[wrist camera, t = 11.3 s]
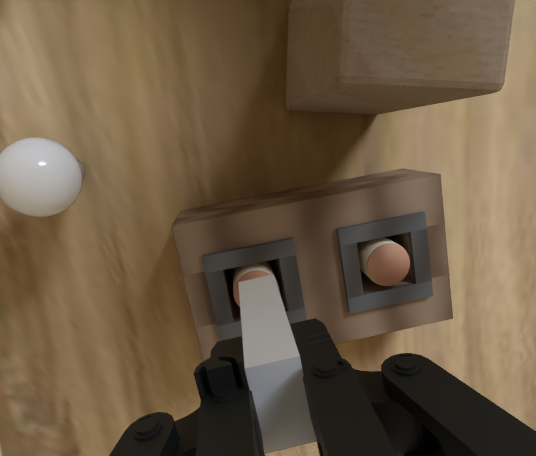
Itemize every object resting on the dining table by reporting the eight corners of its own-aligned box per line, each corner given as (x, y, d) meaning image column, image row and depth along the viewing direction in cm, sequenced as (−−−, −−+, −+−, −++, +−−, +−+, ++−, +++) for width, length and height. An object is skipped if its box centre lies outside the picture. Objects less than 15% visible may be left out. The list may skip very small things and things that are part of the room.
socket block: (208, 333, 46) (205, 376, 38) (180, 211, 43) (170, 227, 35) (415, 289, 48) (456, 321, 40) (402, 168, 45) (443, 174, 37)
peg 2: (348, 219, 45) (377, 237, 37) (381, 231, 46) (417, 251, 37) (335, 254, 46) (360, 279, 37) (368, 265, 46) (400, 291, 38)
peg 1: (238, 241, 44) (242, 264, 36) (273, 253, 45) (285, 278, 37) (226, 276, 45) (227, 306, 36) (261, 287, 45) (270, 319, 37)
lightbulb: (52, 127, 40) (-9, 121, 30) (116, 155, 42) (79, 160, 31) (29, 186, 41) (-38, 202, 31) (92, 213, 42) (48, 236, 32)
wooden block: (379, 114, 44) (506, 92, 24) (284, 111, 43) (337, 84, 23) (387, 10, 42) (533, -105, 22) (288, 4, 41) (349, -124, 21)
